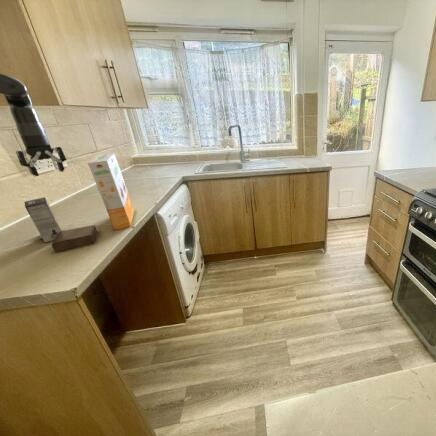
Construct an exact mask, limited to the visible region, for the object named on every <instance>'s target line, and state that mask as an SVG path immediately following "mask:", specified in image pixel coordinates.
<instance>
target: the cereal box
mask: <svg viewBox="0 0 436 436" xmlns="http://www.w3.org/2000/svg"><path fill="white" fill-rule="evenodd" d="M87 164H88V167H89V169H90V173H91V174H92V177H93V179H94V182H95V185H96V187H97V190H98V192H99V194H100V197H101V199H102V202H103V204H104V207H105V209H106V211H107V214H108V217H109V220H110V222H111V225H112V227H113V229H114V230H120V229H125V228H129V227H131V226H132V223H133V217H134V214H135V208H134V206H133V203H132V201H131V200H132V199H131V197H130V194H129V191H128V188H127V185H126V182H125V180H124V177H123V174H122V170H121V168H120V165H119V162H118V159H117V157H116V153H114V152H112V153H104V154H98V155H97V156H95V157H93V159H91V160H90V161H89V162H87Z"/></svg>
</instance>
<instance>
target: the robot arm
mask: <svg viewBox="0 0 436 436" xmlns="http://www.w3.org/2000/svg"><path fill="white" fill-rule="evenodd" d="M0 94H1V95H3V96H4V99H5V100H6V103H7V105H8V106H9V111H10V114H11V117H12V119H13V121H14V123H15V127H16V130H17V132H18V133H19V136H20V139H21V141H22V143H23V145H24V148H25V150H16V151H15V154H16V156H17V159H18V161H19V164H20V166H21V167H25V168H26V167H27V168H29V171H30V173H31V174H32V175H33V176H35V177H39V176H40V174H39V172H38V170H37V167H36V166H35V165H36V163H37V162H38V161H44V160H49V159H50V160H53V161H54V162H55V163H56V166H57V169H58V171H59V172H61V173H62V172H64V171H65V166H64V162H65V161H67V157H66V155H65V153H64V151H63V148H62V147H60V146H55V147H52V146H51V143H50V141H49V139H48V136H47V133H46V130H45V129H44V127H43V125H42V123H41V121H40V118H39V116H38V114H37V112H36V110H35V108H34V106H33V103H32V100H31V98H30V95H29V92H28V89H27V87H26V85H25V84H24V83H23V81H21V80H20V79H17V78H16V77H13V76H9V75H7V74H3V73H0ZM54 152H55V153H56V154H57V155H58V157H57V156H56V155H54ZM27 155H28V156H30V157H29V159H28V162H27V160H26V156H27Z"/></svg>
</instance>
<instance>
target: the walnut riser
mask: <svg viewBox="0 0 436 436" xmlns="http://www.w3.org/2000/svg"><path fill="white" fill-rule="evenodd" d="M98 234H99V231H98V229H97V227H96V225H94V224H92V225H87V226H86V225H85V226H82V227H81V226H80V227H76V228H70V229H66V230H62V231H60V232H59V233H58V235H57V237H56V238H55V240H52V243H51V247H52V249H53V251H54V253H55V254H56V253H61V252H65V251H70V250H74V249H79V248H82V247H86V246H90V245H95V243H96V240H97V236H98Z"/></svg>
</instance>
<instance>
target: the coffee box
mask: <svg viewBox="0 0 436 436" xmlns="http://www.w3.org/2000/svg"><path fill="white" fill-rule="evenodd" d="M23 202H24V208H25V210H26V212H27V213H28V215H29V217H30V218H31V220H32V222H33V224H34V226H35V228H36V229H37V231H38V233H39V235H40V237H41V238H42V241H43V242H44V243H48V242H53V241H54V240H55V238H56V237H57V235H58V233H59V232H60V231H63V230H62V228H61V227H60V224H59V222H58V220H57V218H56V216H55V214H54V212H53V210H52V208H51V206H50V204H49V202H48V200H47V199H46V197H45V196H43V197H40V198H39V197H38V198H35V199H31V200H25V201H23Z"/></svg>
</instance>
